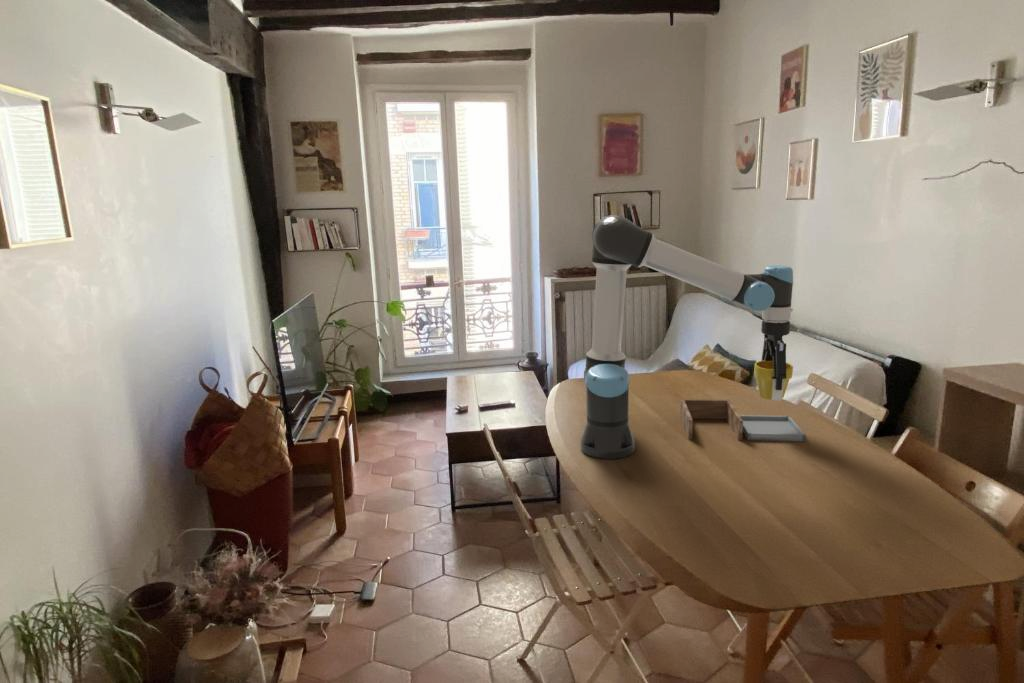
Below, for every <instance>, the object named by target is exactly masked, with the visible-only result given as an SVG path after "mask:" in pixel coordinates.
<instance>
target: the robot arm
mask: <svg viewBox="0 0 1024 683" xmlns="http://www.w3.org/2000/svg"><path fill="white" fill-rule="evenodd" d="M591 232H592V234H591V240H592V252H591V254H592V255H591V263H592V265H593V266H594V267H595V268H596V275H595V289H594V290H595V292H594V307H593V308H594V309H593V322H592V325H593V326H592V339H591V340H592V341H591V343H592V344H591V348H590V349H589V351H587V352H586V356H585V368H584V372H583V380H584V381H583V382H584V384H585V392H586V395H585V396H586V424H585V426H584V428H583V429H584V430H583V433H582V436H581V438H580V450H581V451H582V453H584V454H585V455H587V456H589V457H593V458H595V459H596V458H597V459H603V460H605V459H606V460H613V459H617V460H618V459H622V458H625V457H628V456H630V455H632V454H633V453H634V452H635V438H634V436H633V433H632V430H631V428H630V424H629V396H630V394H629V392H630V391H629V390H630V389H629V387H630V378H629V373H628V370H627V369H626V359H627V358H626V354H625V353H624V352H623V351H622V338H623V328H624V326H623V325H624V314H625V313H624V312H625V311H624V310H625V298H626V285H627V284H626V283H627V271H628V270H629V268H630V267H631V266H634V267H635V268H641V267H644V266H645V267H647V268H649V269H652V270H655V271H656V272H659V273H662V274H663V275H664V274H665V275H667V276H669V277H672V278H675V279H676V280H680V281H681V282H684V283H687V284H690V285H692V286H694V287H696V288H697V287H698V288H700V289H702V290H704V291H706V292H707V291H708V292H710V293H712V294H715V295H717V296H719V297H720V299H721V300H722V301H724V302H733V303H737V304H739V305H741V306H745V307H746V308H747V309H749V310H752V311H755V312H761V318H762V321H761V328H760V330H761V333H762V334H763V337H764V339H763V340H764V341H763V347H762V354H761V360H760V361H764V360H765V361H773V369H774V376H773V377H772V379H773V384H772V400H771V401H783V398H784V397H783V380H784V379H786V377H787V376H786V363H787V343H786V342H785V343H784V340H783V337H784V336H788V335H790V332H791V330H790V329H791V322H790V320H791V313H792V312H793V308H792V296H793V288H794V287H793V286H794V274H793V273H794V271H793V268H792V267H790V266H788V265H768V266H765V267H764V270H763V273H757V274H756V273H755V274H754V273H753V274H751V273H750V274H748V273H747V274H745V273H742V272H739V271H736V270H734V269H731V268H729V267H726V266H725V265H722V264H720V263H717V262H715V261H712V260H709V259H707V258H705V257H702V256H699V255H697V254H694V253H692V252H689V251H686V250H684V249H682V248H679V247H677V246H675V245H672V244H670V243H667V242H664V241H662V240H660V239H657V238H656V236H655V234H654V233H653V232H650V231H648V230H646V229H643V228H641V227H640V226H638V225H636V224H635V223H633V222H632V221H631V220H629V219H628V218H626V217H624V216H621V215H618V214H617V215H616V214H610V215H606V216H604V217H603V218H601V219H599V220H598V222H596V224H595V225H594V227H593V229H592V231H591ZM782 397H783V398H782Z"/></svg>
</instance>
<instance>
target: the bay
mask: <svg viewBox="0 0 1024 683" xmlns="http://www.w3.org/2000/svg"><path fill="white" fill-rule="evenodd" d="M740 415H741V414H739V411H738V410H737V409H736V407H735V406H734V405H733V403H732V400H730V399H707V398H705V399H704V398H703V399H697V398H695V399H694V398H692V399H691V398H688V399H687V398H683V399H680V417H679V418H680V419H681V420H680V421H681V422H682V425H683V428H684V430H685V433H686V436H687V438H688V440H690V441H691V440H693V423H694V421H693V419H714V420H716V419H719V420H720V419H721V420H722V419H724V420H725V419H726V421H727V423H728V425H729V426H730V428H731V430H732V432H733V433H734V435H735V437H736V439H737V441H743V420H742V418H741V417H740Z"/></svg>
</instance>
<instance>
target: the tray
mask: <svg viewBox="0 0 1024 683" xmlns="http://www.w3.org/2000/svg"><path fill="white" fill-rule="evenodd" d="M739 415H740V417H741V418H742V420H743V432H742V434H744V436H745V438H746V439H747V441H762V442H763V441H766V442H767V441H769V442H771V441H772V442H806V433H805V432H804V431H803V430H802V429H801V427H800V426H799V425H798V424H797V423H796V422H795V421H794V419H793V418H792V417H791V416H790V415H761V414H759V415H758V414H756V415H755V414H754V415H751V414H750V415H749V414H748V415H746V414H739Z"/></svg>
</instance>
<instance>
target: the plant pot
mask: <svg viewBox="0 0 1024 683" xmlns="http://www.w3.org/2000/svg"><path fill="white" fill-rule="evenodd" d="M793 369H794V367H793V365H792V364H791V363H789V362H786V376H787V377H786V379H784V380H783V397H782V399H784V396H785V394H786V391H787V387H788V385H789V382H790V380H791V379H792V378H793V372H794V370H793ZM753 370H754V372H753V374H754V376H755V377H756V383H757V388H758V394H759V397H760V398H761V399H765V400H771V401H773V400H772V384H773V379H772V377H773V376H774V369H773V361H765V360H764V361H761V360H759V361H756V362H755V363H754V368H753Z"/></svg>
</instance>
